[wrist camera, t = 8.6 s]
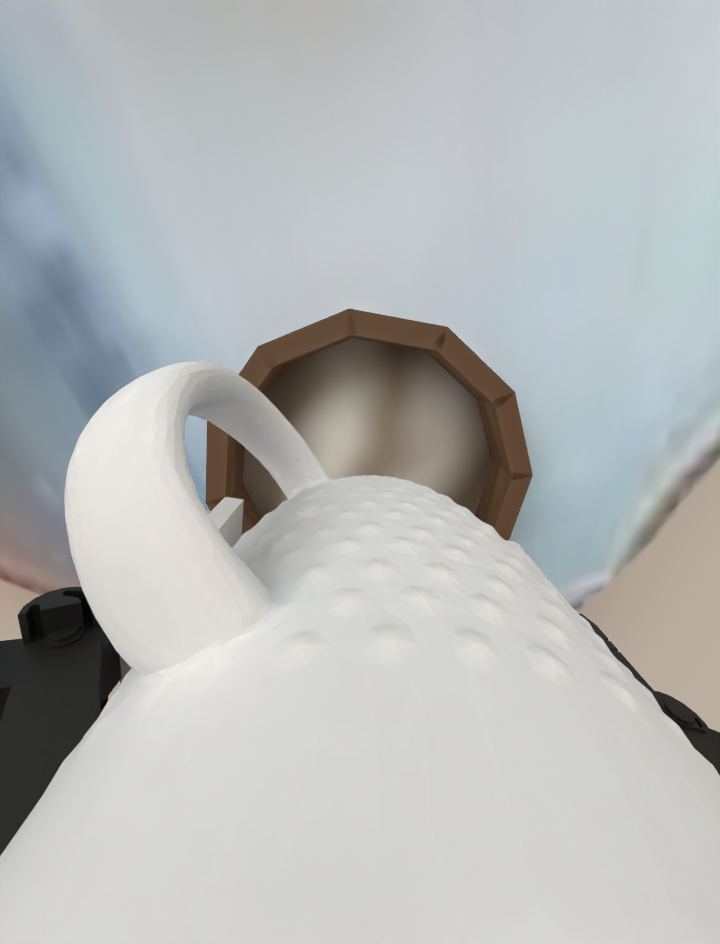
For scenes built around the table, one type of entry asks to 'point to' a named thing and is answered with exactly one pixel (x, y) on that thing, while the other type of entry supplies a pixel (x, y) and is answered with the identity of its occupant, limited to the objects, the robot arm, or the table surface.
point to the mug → (344, 721)
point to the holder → (383, 416)
